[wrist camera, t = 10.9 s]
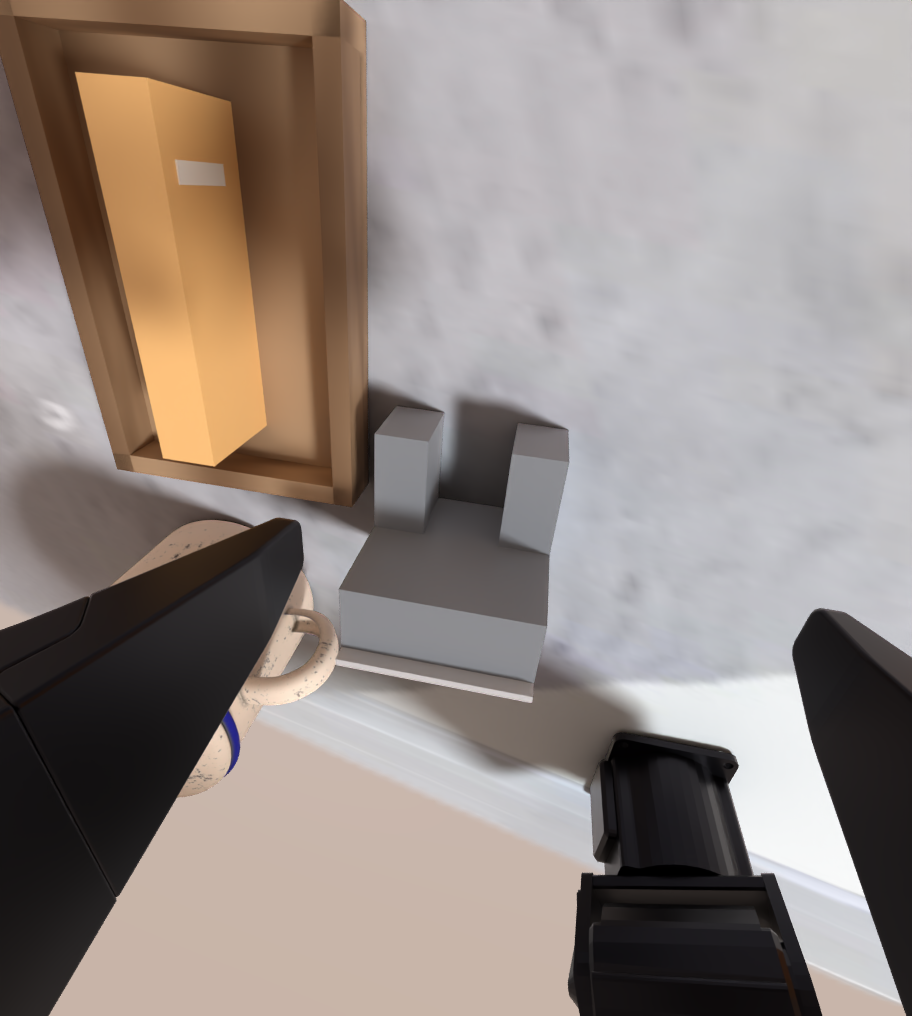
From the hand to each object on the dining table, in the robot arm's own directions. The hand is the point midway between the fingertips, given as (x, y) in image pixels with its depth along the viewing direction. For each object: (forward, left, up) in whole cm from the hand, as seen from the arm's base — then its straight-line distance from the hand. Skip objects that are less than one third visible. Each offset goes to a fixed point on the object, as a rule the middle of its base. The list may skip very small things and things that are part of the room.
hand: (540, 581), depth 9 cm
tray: (+12, -2, -12) cm, 18 cm away
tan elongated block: (+12, -2, -12) cm, 17 cm away
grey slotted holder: (+2, +6, -12) cm, 14 cm away
